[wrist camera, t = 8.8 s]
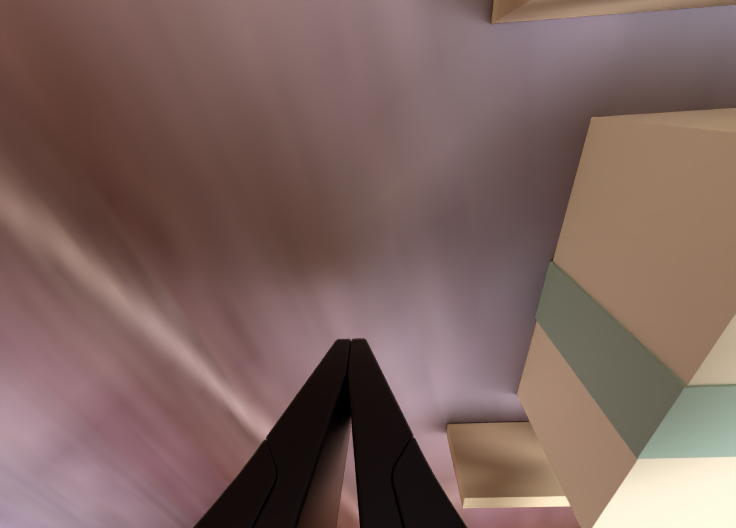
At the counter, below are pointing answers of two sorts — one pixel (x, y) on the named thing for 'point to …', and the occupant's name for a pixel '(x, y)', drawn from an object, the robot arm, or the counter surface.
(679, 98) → the counter surface
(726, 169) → the carton
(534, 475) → the tan tray
